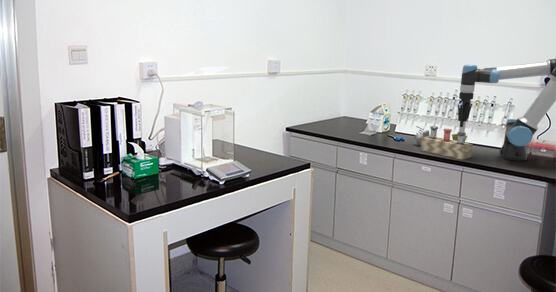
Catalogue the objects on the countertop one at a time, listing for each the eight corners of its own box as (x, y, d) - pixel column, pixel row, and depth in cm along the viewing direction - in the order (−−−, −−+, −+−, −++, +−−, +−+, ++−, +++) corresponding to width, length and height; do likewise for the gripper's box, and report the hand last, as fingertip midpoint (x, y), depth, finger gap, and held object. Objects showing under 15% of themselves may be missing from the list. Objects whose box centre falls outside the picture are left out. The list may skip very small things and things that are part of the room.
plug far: (437, 142, 280) (439, 127, 278) (433, 143, 277) (435, 127, 275) (431, 140, 284) (432, 125, 281) (427, 141, 281) (428, 126, 279)
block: (471, 157, 268) (472, 144, 266) (462, 159, 262) (464, 146, 260) (429, 147, 289) (430, 135, 287) (420, 150, 282) (421, 137, 280)
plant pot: (467, 151, 283) (468, 137, 281) (451, 149, 285) (452, 136, 283) (464, 147, 292) (465, 134, 290) (448, 146, 294) (450, 133, 292)
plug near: (465, 148, 267) (467, 132, 265) (461, 149, 264) (463, 133, 262) (458, 147, 270) (460, 131, 268) (454, 148, 267) (456, 132, 265)
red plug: (451, 145, 274) (453, 129, 271) (447, 145, 271) (449, 130, 268) (444, 143, 277) (446, 128, 275) (440, 144, 274) (442, 129, 272)
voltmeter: (435, 148, 288) (437, 133, 286) (418, 148, 287) (419, 133, 285) (419, 139, 314) (420, 125, 312) (403, 139, 313) (404, 125, 310)
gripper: (466, 90, 266) (461, 130, 272) (454, 91, 258) (449, 132, 264) (478, 92, 261) (473, 132, 266) (467, 93, 253) (461, 134, 258)
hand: (461, 132), depth 265 cm, fingers closed
